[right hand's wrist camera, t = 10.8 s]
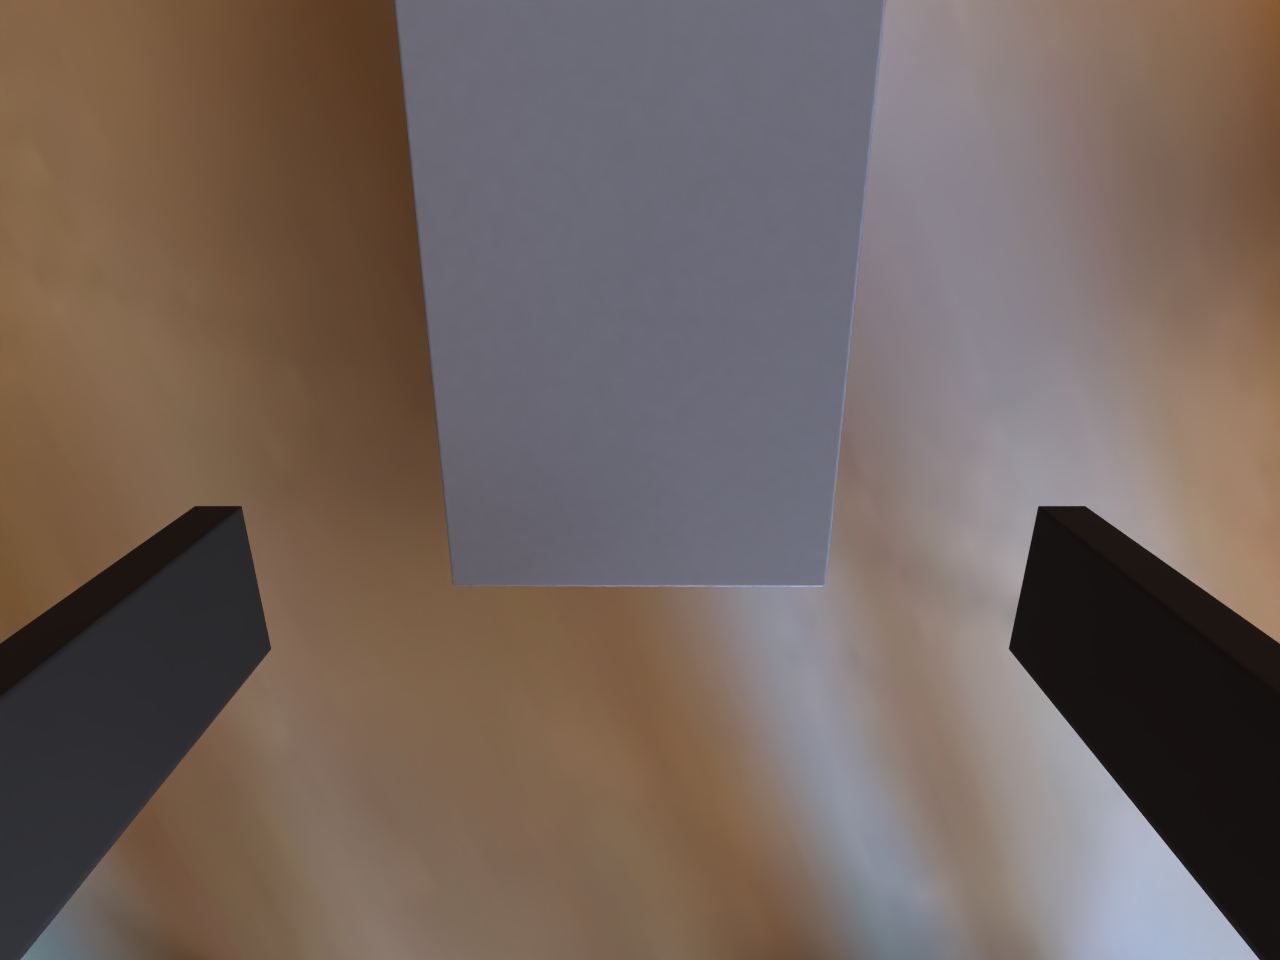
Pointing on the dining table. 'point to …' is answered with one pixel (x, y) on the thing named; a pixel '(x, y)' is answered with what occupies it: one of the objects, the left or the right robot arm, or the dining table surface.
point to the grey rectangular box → (639, 279)
